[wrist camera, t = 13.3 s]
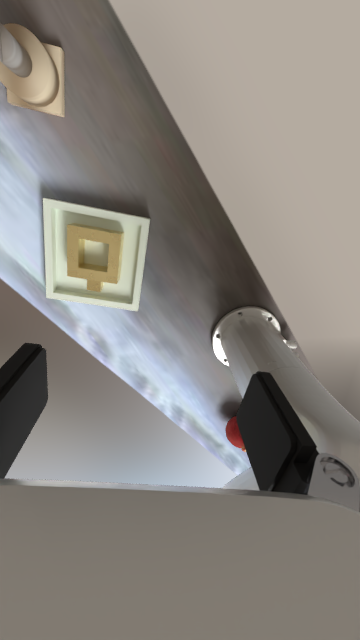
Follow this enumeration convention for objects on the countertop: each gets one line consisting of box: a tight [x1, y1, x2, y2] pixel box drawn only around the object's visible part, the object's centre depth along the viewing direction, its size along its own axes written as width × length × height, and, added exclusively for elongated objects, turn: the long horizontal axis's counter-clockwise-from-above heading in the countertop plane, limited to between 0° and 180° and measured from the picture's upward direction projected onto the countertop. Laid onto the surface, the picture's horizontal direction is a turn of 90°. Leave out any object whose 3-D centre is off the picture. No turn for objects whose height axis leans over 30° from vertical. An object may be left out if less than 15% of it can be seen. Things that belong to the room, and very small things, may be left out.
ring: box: [67, 223, 124, 292], centre depth 36 cm, size 7×9×3 cm
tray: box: [43, 198, 151, 311], centre depth 37 cm, size 14×14×2 cm
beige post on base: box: [0, 23, 65, 118], centre depth 25 cm, size 6×6×9 cm
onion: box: [226, 416, 246, 452], centre depth 51 cm, size 6×6×8 cm
